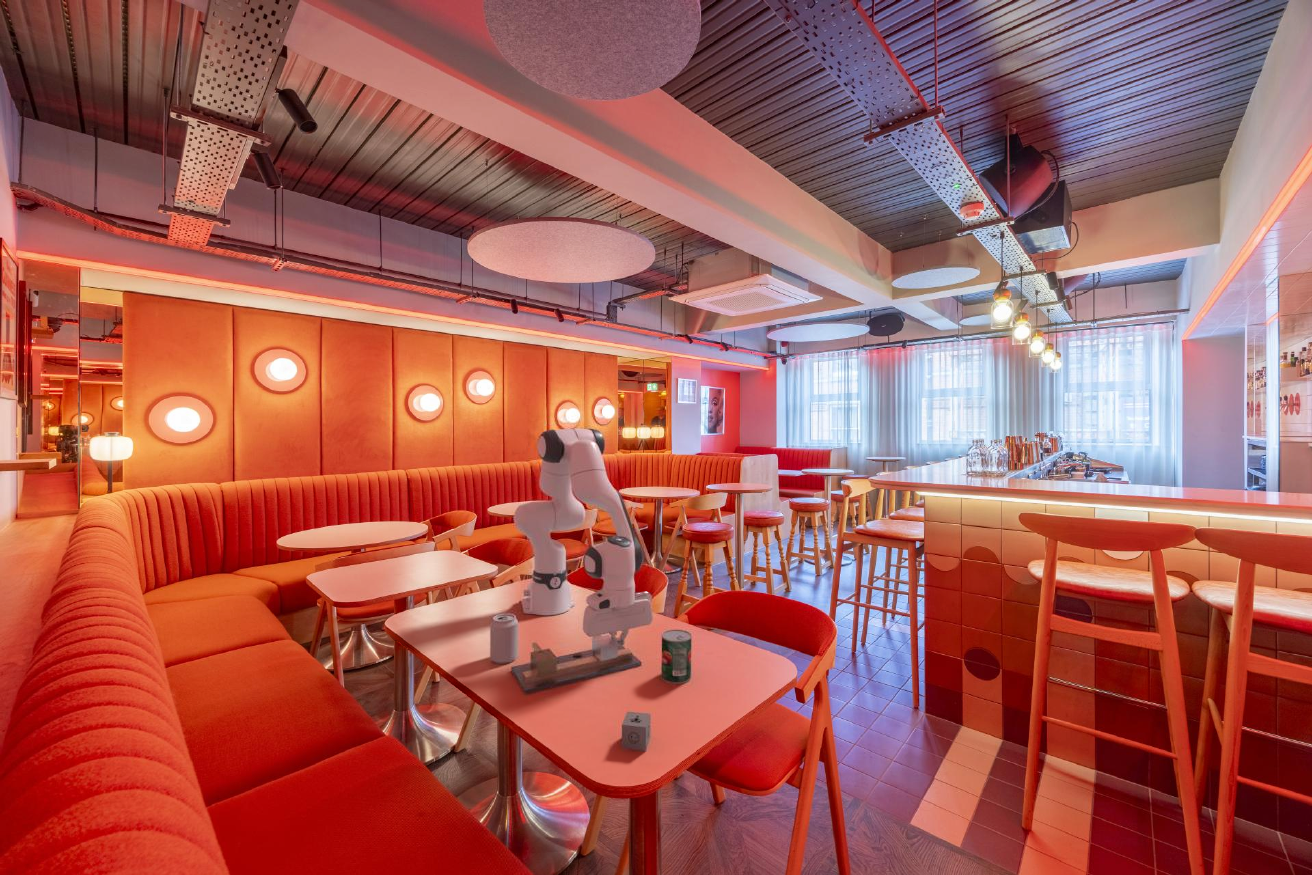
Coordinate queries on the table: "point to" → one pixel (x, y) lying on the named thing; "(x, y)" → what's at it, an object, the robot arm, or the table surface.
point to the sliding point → (604, 647)
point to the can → (503, 638)
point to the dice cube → (636, 731)
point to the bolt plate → (571, 675)
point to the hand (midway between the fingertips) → (618, 645)
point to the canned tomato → (676, 656)
